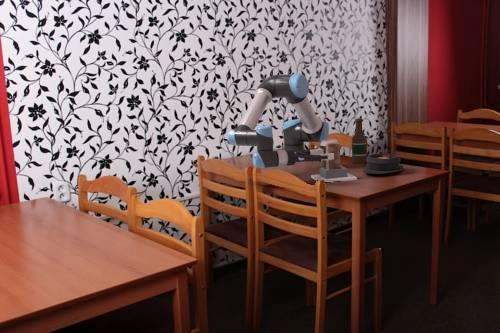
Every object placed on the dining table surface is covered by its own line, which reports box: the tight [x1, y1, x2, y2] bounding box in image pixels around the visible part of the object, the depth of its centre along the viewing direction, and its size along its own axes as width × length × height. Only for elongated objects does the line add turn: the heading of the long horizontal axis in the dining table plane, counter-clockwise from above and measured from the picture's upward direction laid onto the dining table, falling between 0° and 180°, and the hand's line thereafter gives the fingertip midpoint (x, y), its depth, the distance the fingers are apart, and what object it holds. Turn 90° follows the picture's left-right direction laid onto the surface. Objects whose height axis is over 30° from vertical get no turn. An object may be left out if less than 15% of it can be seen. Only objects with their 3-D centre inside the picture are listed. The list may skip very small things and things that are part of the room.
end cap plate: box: [310, 165, 358, 183], centre depth 262 cm, size 18×14×5 cm
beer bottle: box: [351, 118, 367, 165], centre depth 297 cm, size 8×8×24 cm
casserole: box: [362, 153, 405, 175], centre depth 271 cm, size 25×19×8 cm
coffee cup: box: [319, 139, 339, 167], centre depth 284 cm, size 10×10×15 cm
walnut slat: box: [326, 142, 341, 170], centre depth 261 cm, size 6×3×16 cm, turn 102°
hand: (328, 153), depth 259 cm, fingers open, 13 cm apart
